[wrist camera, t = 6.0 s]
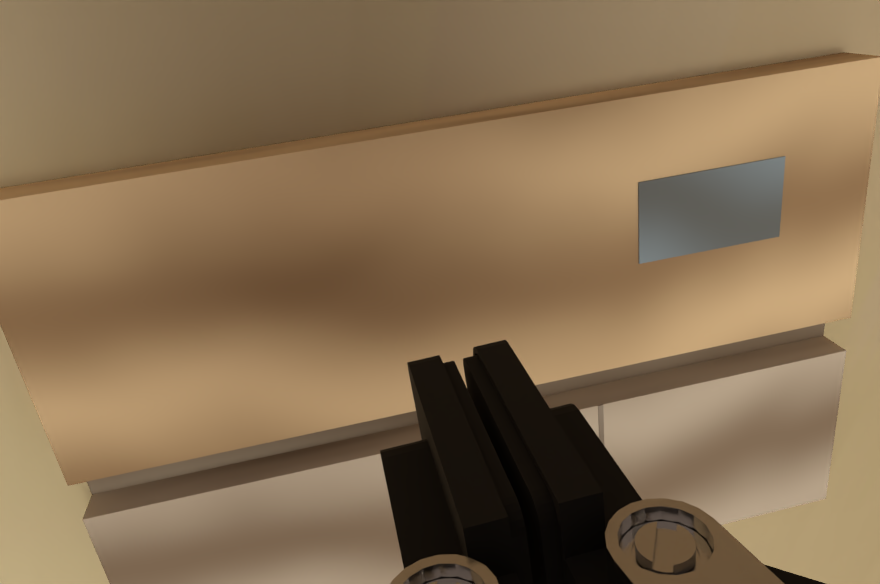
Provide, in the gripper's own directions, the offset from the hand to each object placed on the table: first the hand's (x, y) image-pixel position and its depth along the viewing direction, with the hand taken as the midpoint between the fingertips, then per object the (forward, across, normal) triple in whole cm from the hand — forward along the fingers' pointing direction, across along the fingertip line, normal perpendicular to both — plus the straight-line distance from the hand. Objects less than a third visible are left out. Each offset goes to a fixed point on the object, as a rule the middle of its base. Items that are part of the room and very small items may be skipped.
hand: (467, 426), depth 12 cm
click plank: (+9, -2, +1) cm, 10 cm away
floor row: (+10, -2, +9) cm, 13 cm away
